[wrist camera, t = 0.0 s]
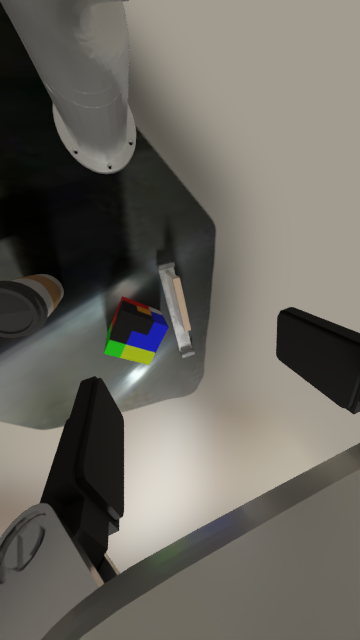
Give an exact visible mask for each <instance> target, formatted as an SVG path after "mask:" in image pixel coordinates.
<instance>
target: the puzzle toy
mask: <svg viewBox="0 0 360 640" xmlns="http://www.w3.org/2000/svg"><path fill="white" fill-rule="evenodd" d="M167 329H168V325H167V323H166V321H165V319H164V317H163V315H162V313H161V311H159V310H157V309H154V308H152V307H149V306H146V305H144V304H141V303H139V302H136V301H134V300H131V299H128V298H126V297H123V296H122V298H121V301H120V303H119V306H118V308H117V311H116V313H115V315H114V318H113V320H112V323H111V325H110V327H109V330H108V333H107V338H106V344H105V350H104V354H107V355H111V356H115V357H119V358H124V359H128V360H132V361H136V362H140V363H144V364H148V365H149V364H150V363H151V361H152V359H153V357H154V355H155V353H156V351H157V349H158V347H159V345H160V343H161V341H162V339H163V337H164V335H165V333H166V331H167Z"/></svg>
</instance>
